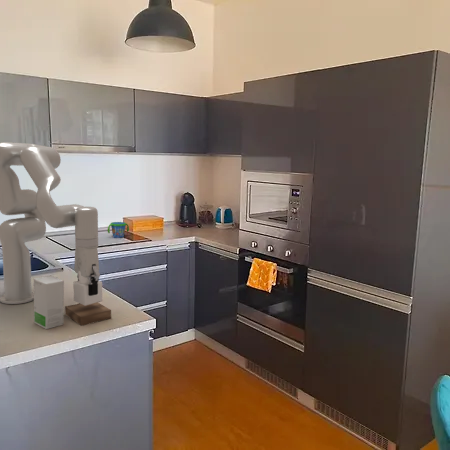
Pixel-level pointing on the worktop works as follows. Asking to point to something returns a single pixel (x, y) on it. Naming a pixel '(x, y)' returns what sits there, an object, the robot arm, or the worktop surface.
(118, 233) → the snack cup
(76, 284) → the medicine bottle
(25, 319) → the worktop surface
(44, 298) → the skincare box
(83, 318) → the block
